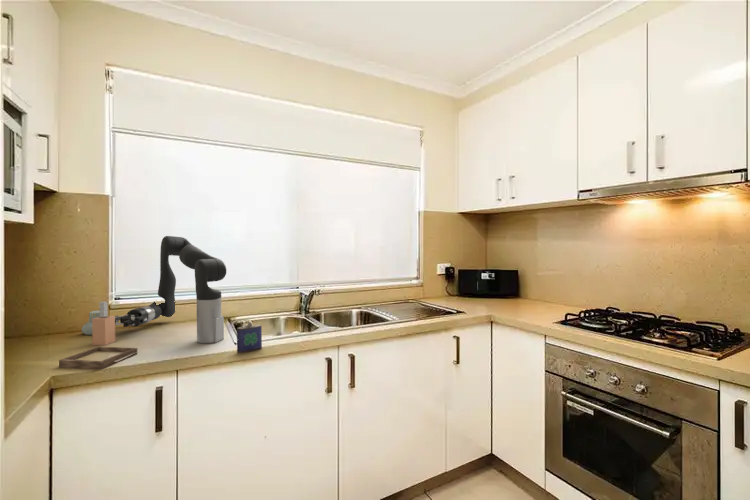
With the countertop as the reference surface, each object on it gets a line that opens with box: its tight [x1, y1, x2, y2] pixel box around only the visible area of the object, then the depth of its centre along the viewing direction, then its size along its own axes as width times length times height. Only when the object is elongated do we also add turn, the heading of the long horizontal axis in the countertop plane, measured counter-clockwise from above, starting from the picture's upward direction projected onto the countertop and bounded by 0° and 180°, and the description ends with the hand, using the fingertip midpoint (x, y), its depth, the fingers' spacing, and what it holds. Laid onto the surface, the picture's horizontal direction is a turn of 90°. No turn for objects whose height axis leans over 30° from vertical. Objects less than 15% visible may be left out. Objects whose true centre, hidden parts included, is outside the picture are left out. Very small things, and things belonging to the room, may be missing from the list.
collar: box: [92, 315, 116, 346], centre depth 141 cm, size 5×5×10 cm
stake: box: [91, 300, 117, 347], centre depth 141 cm, size 6×6×17 cm
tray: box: [58, 345, 138, 370], centre depth 124 cm, size 15×15×2 cm
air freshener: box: [81, 310, 100, 336], centre depth 157 cm, size 11×8×10 cm
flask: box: [236, 321, 263, 354], centre depth 136 cm, size 9×3×11 cm, turn 130°
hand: (113, 324), depth 146 cm, fingers open, 8 cm apart
